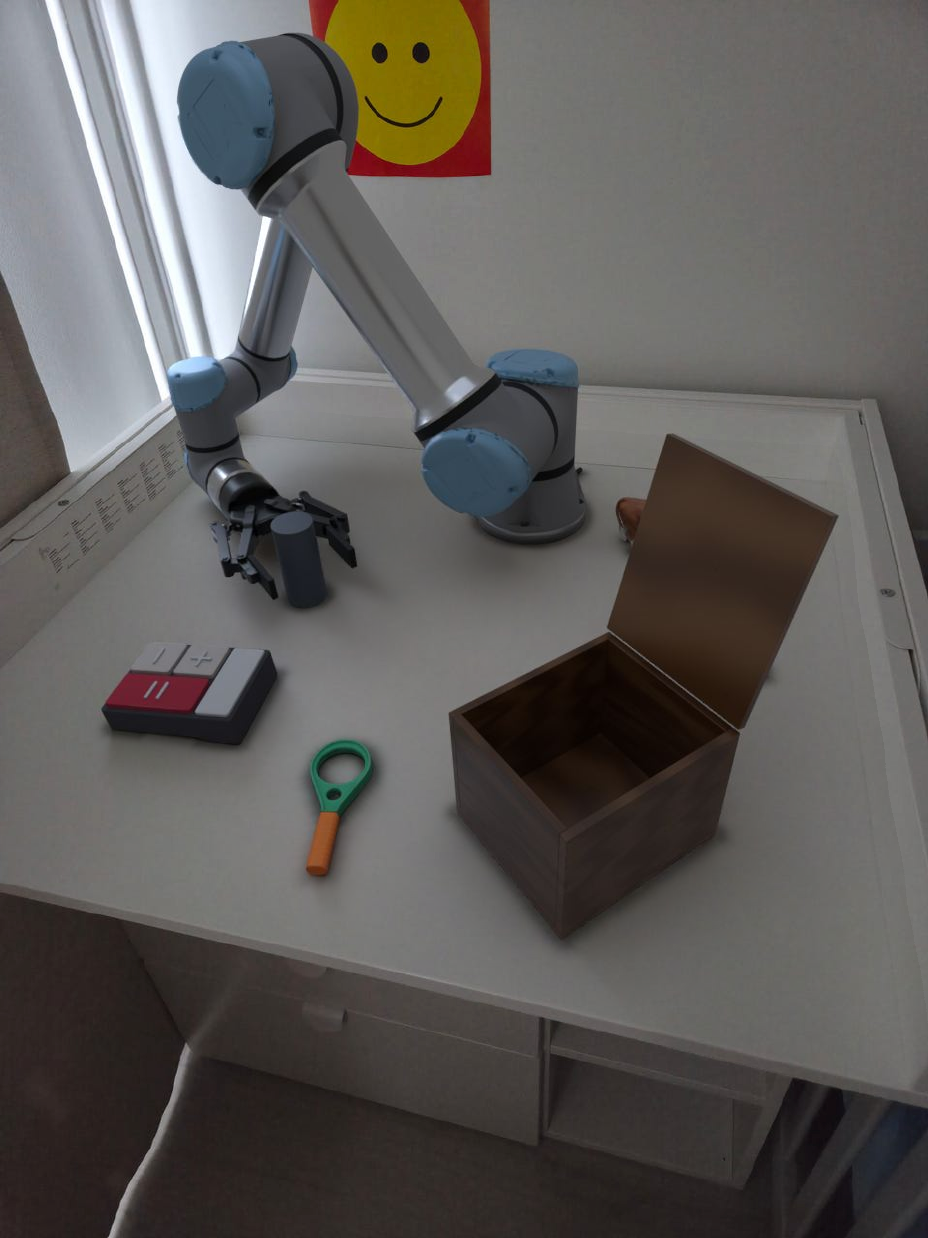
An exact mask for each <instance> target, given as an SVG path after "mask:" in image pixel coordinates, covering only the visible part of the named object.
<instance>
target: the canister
mask: <svg viewBox="0 0 928 1238" xmlns="http://www.w3.org/2000/svg"><path fill="white" fill-rule="evenodd" d="M271 531H272V533H271V534H272V539H273V543H274V547H275V552H276V556H277V560H278V565H279V569H280V573H281V577H282V581H283V587H284V589H285V594H286V598H287V602H288V603H289V604H290V605H291V606H293V607H295V608H299V609H307V608H309V609H310V608H312V607H313V608H314V607H316V606H318V605H319V604H322V603H323V602H324V601H325V600H326V598H327V596H328V591H327V584H326V580H325V579H326V578H325V575H324V570H323V564H322V559H321V554H320V549H319V544H318V539H317V536H316V533H315V528H314V523H313V518H312V517H311V516H310V515H309V514H307V513H304V512H288V513H285V514H282V515H280V516H278V517H276V518H275V519H274V520H273V521H272V522H271Z"/></svg>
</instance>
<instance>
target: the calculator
mask: <svg viewBox="0 0 928 1238" xmlns="http://www.w3.org/2000/svg"><path fill="white" fill-rule="evenodd" d="M271 652H272V651H270V649H261V648H244V647H230V646H227V645H213V644H195V643H193V644H187V643H179V642H178V643H177V642H163V641H151V642H149V643H148V644H147V646H146V647H145V648H144V649H143V651H142V652H141V654H140V655H139V656H138V658H137V659H136V660H135V662H134V663H133V664H132V666H131V667H130V669H129V670H128V672H127V673H126V674H125V675H124V676H123V677H122V679H121V680H120V682H119V683H118V684H117V686H116V687H115V688H114V690H113V691H112V692H111V693H110V695H109V696H108V698H107V699H106V700H105V702H104V704H103V705H102V707H101V709H100V710H101V713H102V714H103V717H104V719H105V720H106V722H107V724H108V726H109V727H110V729H112V730H114V731H115V730H117V731H126V732H137V733H138V732H139V733H148V734H149V733H150V734H161V735H170V736H171V735H172V736H182V737H183V736H184V737H194V738H198V739H200V740H203V741H205V742H210V743H220V744H231V745H238V744H240V743H241V742H242V741H243V739H244V737H245V735H246V733H247V732H248V729H249V728H250V726H251V724H252V722H253V720H254V718H255V717H256V716H257V713H258V711H259V709H260V707H262V704H263V702H264V700H265V698H266V697H267V695H268V693H269V691H270V689H271V688H272V685H273V683H274V681H275V680H276V678H277V677H278V672H277V671H278V670H277V668H276V665H275V662H274V658H273V656H272V653H271Z"/></svg>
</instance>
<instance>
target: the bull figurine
mask: <svg viewBox="0 0 928 1238" xmlns="http://www.w3.org/2000/svg"><path fill="white" fill-rule="evenodd" d="M645 502H646V499H643V498H638V497H629V496H625V497H621V498H620V499H618V501H617V502H616V505H615V516H616V520H617V523H618V528H619V535H620V538H621V539H622V541H624V542H626V541H628V542H630V546H631V548H632V544H633V541H634V538H635V535H636V531H637V528H638V525H639V522H640V519H641V515H642V512H643V509H644V506H645Z"/></svg>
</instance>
